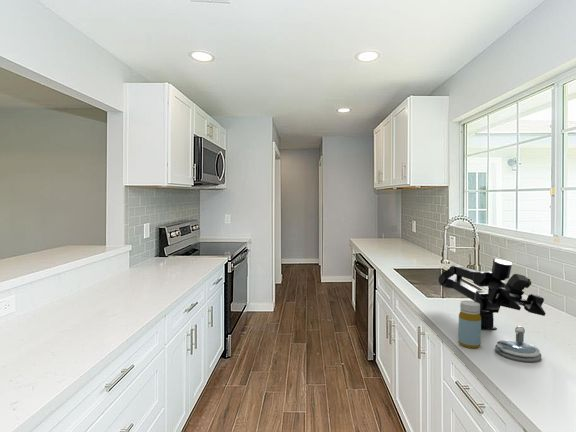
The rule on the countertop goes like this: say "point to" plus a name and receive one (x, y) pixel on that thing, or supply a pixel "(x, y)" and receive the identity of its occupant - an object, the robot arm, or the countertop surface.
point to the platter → (518, 348)
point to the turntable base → (520, 337)
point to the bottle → (469, 324)
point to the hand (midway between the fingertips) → (532, 311)
